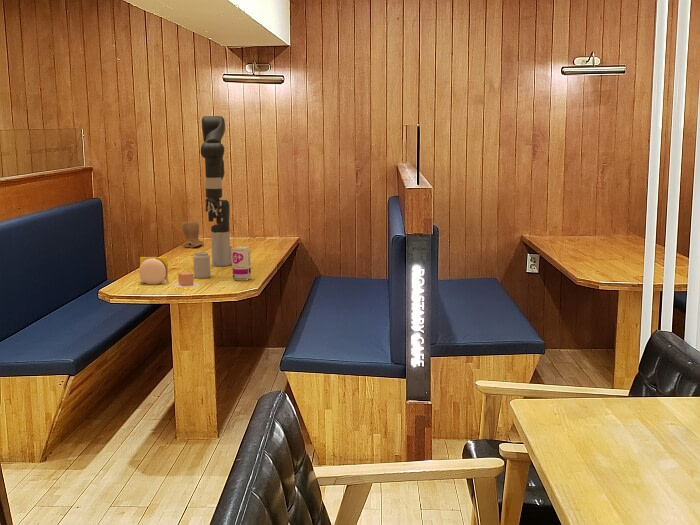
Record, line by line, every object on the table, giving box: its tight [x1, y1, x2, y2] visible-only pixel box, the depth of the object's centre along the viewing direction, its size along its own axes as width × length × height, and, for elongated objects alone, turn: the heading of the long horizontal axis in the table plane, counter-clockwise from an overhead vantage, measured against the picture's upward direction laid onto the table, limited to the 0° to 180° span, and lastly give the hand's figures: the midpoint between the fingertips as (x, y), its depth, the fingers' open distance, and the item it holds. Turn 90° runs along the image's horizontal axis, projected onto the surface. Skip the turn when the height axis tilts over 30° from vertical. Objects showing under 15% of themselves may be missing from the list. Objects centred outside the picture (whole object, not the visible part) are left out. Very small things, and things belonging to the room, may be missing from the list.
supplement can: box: [232, 245, 252, 281], centre depth 361 cm, size 8×8×15 cm
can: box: [192, 251, 211, 279], centre depth 365 cm, size 8×8×12 cm
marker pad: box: [171, 281, 201, 289], centre depth 348 cm, size 10×10×1 cm
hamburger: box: [138, 256, 169, 285], centre depth 351 cm, size 12×8×12 cm
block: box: [177, 271, 194, 286], centre depth 348 cm, size 5×5×5 cm
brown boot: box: [181, 220, 205, 249], centre depth 459 cm, size 15×12×15 cm
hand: (214, 222), depth 360 cm, fingers open, 8 cm apart
